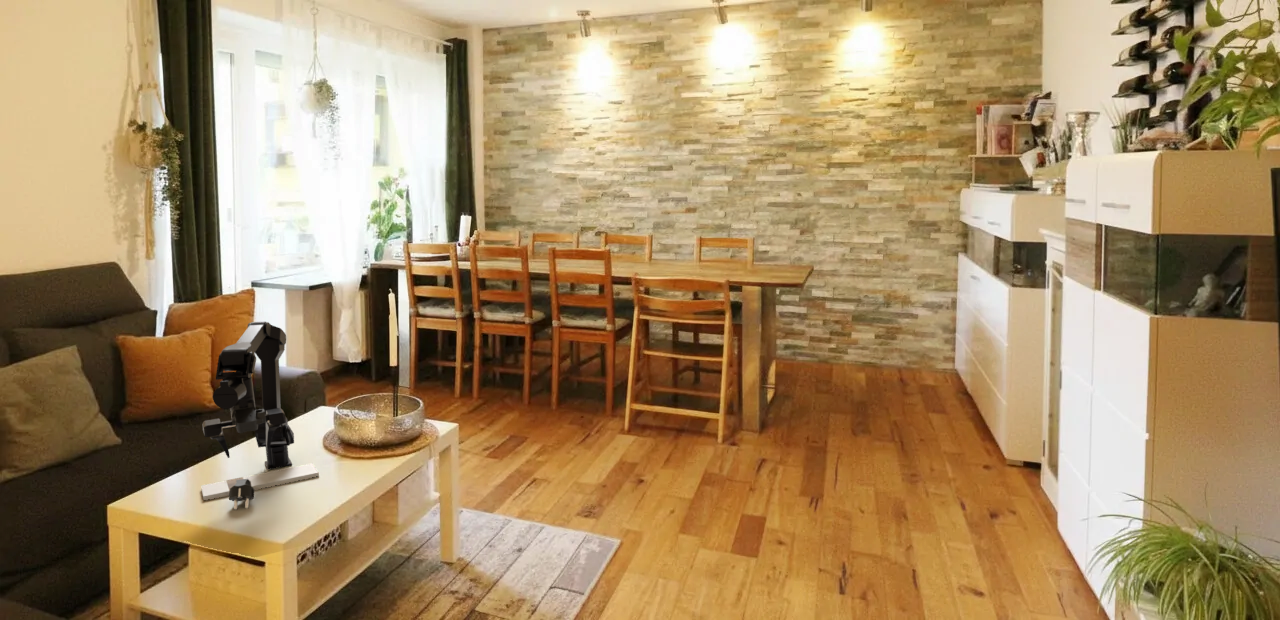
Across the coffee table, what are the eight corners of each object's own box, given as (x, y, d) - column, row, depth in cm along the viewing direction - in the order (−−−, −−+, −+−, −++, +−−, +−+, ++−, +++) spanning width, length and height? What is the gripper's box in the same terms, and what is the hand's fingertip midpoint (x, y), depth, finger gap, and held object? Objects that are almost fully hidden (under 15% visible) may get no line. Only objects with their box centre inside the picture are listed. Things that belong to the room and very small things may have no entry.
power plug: (262, 486, 205) (251, 475, 195) (261, 515, 202) (250, 505, 192) (239, 489, 204) (227, 478, 193) (238, 517, 201) (225, 508, 190)
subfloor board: (201, 489, 205) (201, 485, 205) (313, 467, 220) (312, 462, 220) (203, 500, 198) (203, 496, 198) (318, 476, 213) (318, 472, 213)
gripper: (201, 411, 185) (210, 472, 188) (286, 397, 195) (292, 455, 198) (198, 399, 194) (206, 457, 197) (279, 386, 204) (285, 442, 207)
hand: (248, 453), depth 200 cm, fingers open, 9 cm apart
